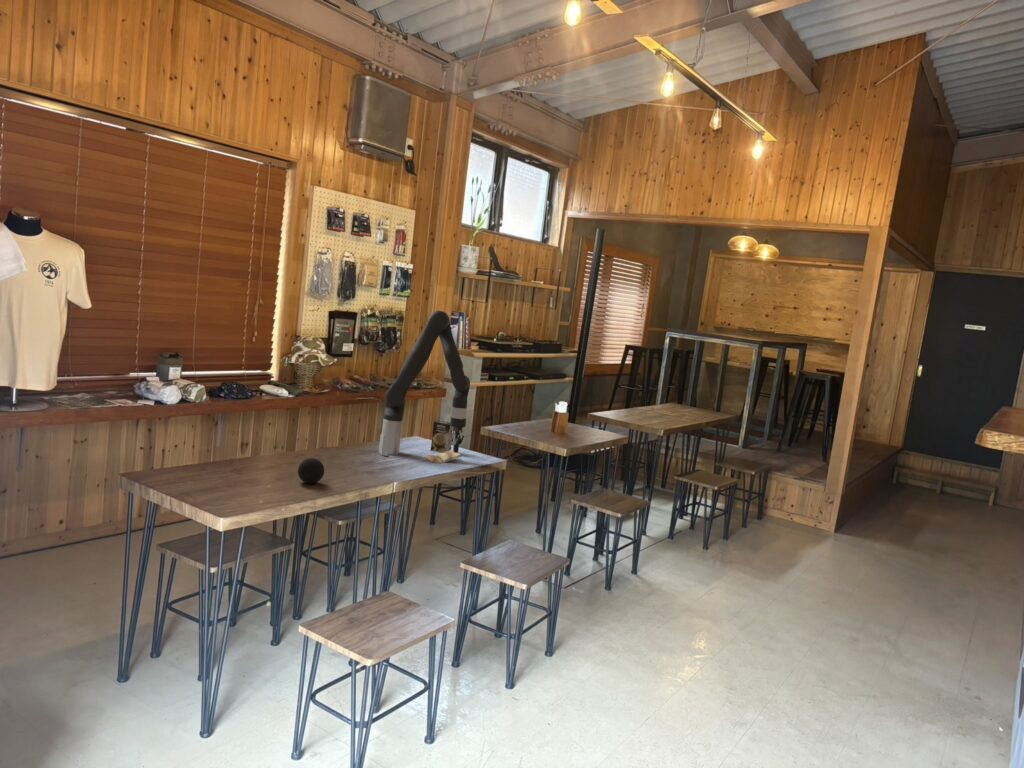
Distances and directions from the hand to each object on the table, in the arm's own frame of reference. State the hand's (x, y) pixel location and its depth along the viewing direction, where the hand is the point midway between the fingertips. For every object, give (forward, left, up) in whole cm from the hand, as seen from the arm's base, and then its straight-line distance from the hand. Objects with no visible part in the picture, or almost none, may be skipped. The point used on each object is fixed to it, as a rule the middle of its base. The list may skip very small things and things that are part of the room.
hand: (455, 451), depth 351 cm
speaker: (-74, -40, -6) cm, 84 cm away
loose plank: (-3, 0, -3) cm, 4 cm away
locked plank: (-11, 0, -5) cm, 12 cm away
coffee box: (-1, +19, -6) cm, 20 cm away
